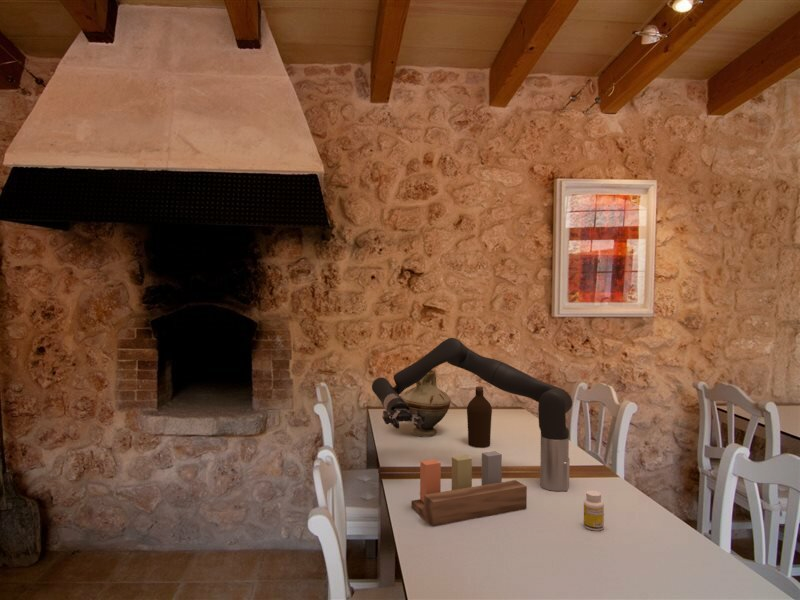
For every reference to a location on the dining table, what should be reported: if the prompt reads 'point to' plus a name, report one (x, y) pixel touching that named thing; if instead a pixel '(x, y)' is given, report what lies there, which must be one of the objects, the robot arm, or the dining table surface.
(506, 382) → the robot arm
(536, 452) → the dining table surface
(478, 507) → the console
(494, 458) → the slate key
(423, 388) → the amphora
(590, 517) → the supplement bottle
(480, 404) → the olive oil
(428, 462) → the terracotta key
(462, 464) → the khaki rectangular block
